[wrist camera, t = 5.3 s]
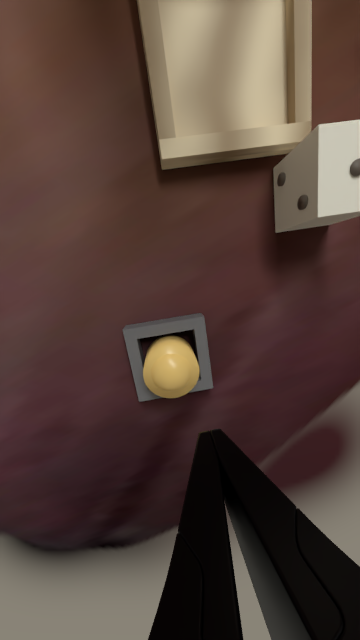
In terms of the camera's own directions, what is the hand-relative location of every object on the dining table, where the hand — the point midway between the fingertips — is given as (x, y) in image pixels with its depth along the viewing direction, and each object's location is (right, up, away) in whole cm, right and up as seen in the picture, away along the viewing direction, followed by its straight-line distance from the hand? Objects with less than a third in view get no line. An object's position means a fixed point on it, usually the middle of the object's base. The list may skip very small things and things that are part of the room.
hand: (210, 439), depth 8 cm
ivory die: (+9, +15, +9) cm, 20 cm away
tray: (+2, +23, +7) cm, 24 cm away
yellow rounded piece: (-2, +1, +11) cm, 11 cm away
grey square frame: (-2, +1, +11) cm, 12 cm away
